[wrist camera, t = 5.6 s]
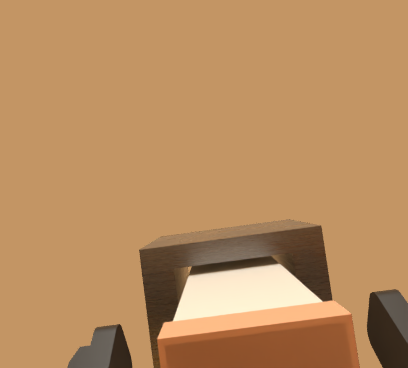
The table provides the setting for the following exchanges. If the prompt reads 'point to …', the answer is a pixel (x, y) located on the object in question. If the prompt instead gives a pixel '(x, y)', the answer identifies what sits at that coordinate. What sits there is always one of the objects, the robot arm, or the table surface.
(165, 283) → the grey tall rectangular block
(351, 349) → the block
